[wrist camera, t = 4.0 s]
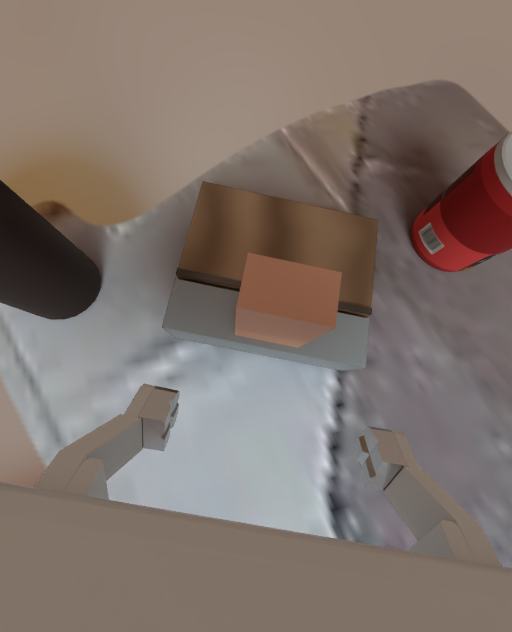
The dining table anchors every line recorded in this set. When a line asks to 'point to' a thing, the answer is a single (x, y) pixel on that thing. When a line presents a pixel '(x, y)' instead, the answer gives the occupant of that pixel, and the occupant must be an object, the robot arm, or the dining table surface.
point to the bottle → (41, 264)
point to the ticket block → (278, 242)
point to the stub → (273, 315)
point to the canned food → (469, 215)
